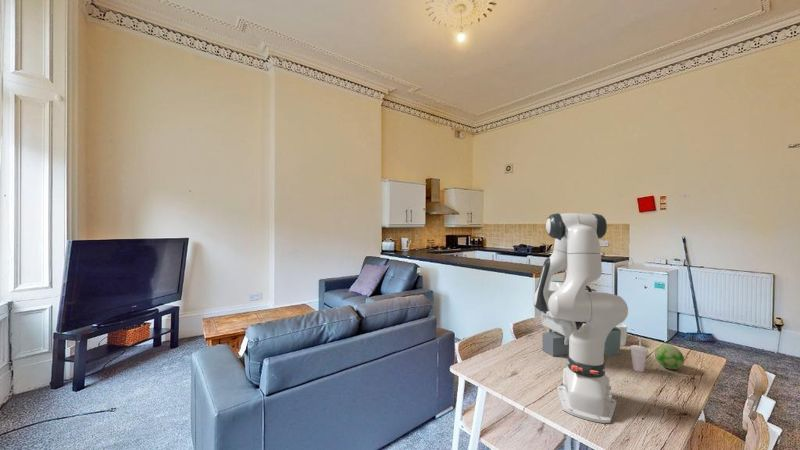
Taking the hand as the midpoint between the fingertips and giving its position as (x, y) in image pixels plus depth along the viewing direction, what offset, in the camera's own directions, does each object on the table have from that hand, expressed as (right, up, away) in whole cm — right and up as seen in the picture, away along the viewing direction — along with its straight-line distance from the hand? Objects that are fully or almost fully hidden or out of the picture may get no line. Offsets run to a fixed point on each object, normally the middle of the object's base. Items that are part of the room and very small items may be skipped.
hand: (558, 340), depth 154 cm
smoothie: (+26, -6, -18) cm, 32 cm away
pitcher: (+19, -5, +24) cm, 31 cm away
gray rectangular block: (0, -6, 0) cm, 6 cm away
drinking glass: (+25, -6, +1) cm, 26 cm away
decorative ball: (+41, -6, -16) cm, 44 cm away
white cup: (+37, -6, +11) cm, 39 cm away
